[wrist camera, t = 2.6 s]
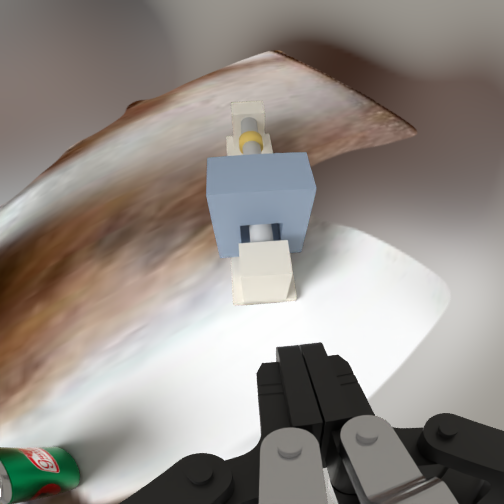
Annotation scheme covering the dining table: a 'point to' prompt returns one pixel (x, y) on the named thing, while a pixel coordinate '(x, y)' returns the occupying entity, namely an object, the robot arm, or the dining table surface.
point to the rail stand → (261, 237)
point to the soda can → (35, 473)
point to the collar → (259, 198)
